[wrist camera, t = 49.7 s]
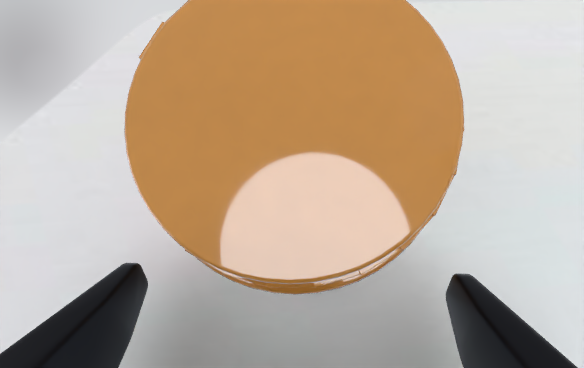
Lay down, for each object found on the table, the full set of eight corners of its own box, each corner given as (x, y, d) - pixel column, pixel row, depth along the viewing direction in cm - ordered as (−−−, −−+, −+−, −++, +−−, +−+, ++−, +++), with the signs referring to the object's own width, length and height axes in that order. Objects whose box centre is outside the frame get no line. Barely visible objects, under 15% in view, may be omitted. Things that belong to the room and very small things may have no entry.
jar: (388, 174, 17) (554, 30, 5) (329, 287, 16) (376, 404, 4) (280, 119, 18) (227, -102, 6) (219, 222, 17) (26, 181, 5)
